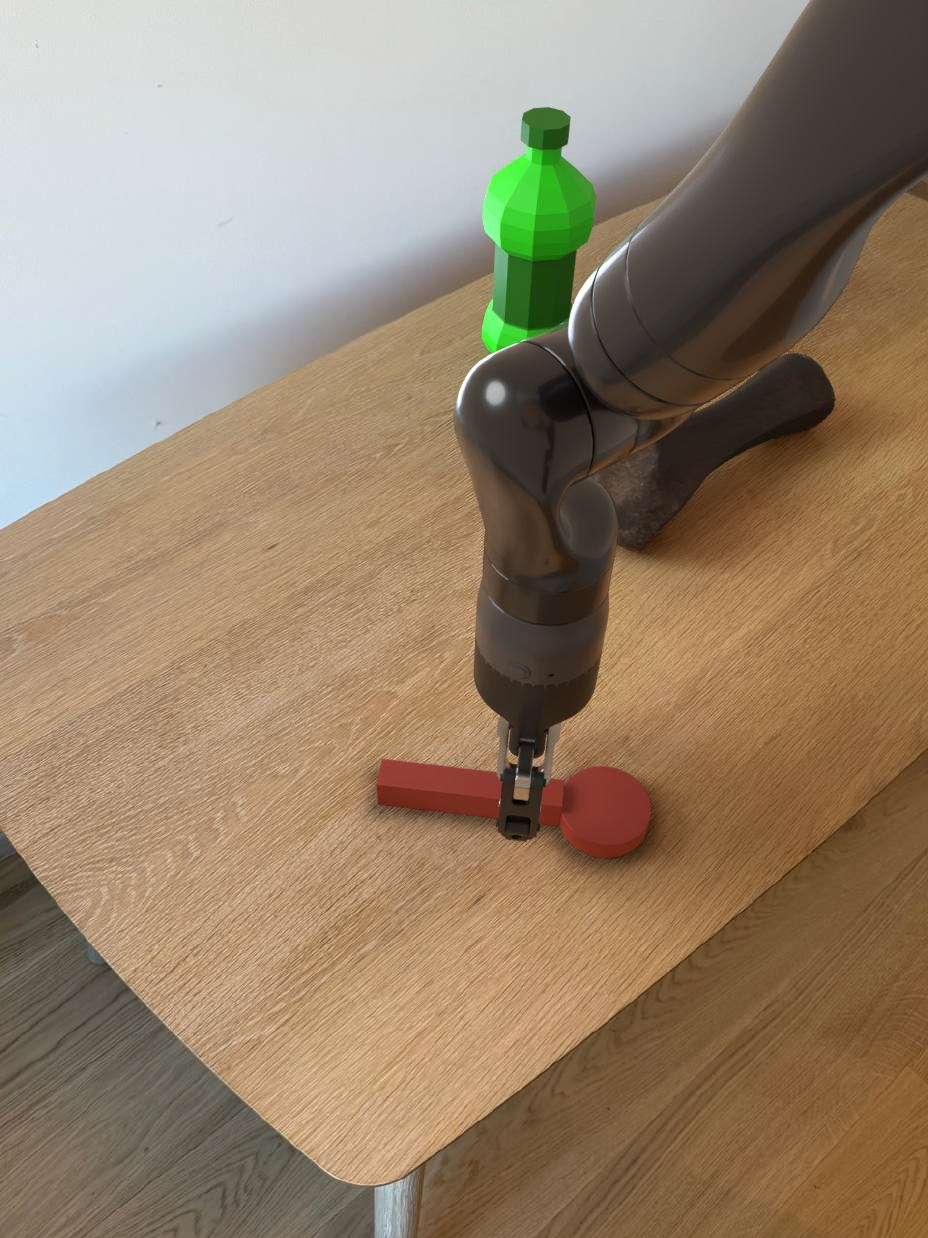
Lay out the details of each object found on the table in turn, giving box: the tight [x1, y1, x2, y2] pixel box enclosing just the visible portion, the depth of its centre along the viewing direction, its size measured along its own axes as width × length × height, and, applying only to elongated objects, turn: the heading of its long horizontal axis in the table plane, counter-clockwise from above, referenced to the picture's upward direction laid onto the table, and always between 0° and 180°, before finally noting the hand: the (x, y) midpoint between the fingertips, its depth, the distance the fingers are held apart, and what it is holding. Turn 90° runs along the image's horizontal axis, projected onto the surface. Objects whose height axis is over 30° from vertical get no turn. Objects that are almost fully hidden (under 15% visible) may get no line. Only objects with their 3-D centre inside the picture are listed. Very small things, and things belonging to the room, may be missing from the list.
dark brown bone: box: [590, 352, 837, 551], centre depth 100 cm, size 11×10×28 cm
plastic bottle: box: [481, 106, 597, 355], centre depth 104 cm, size 10×10×25 cm
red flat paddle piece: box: [375, 758, 652, 859], centre depth 77 cm, size 19×6×3 cm, turn 83°
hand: (522, 779), depth 76 cm, fingers open, 8 cm apart
